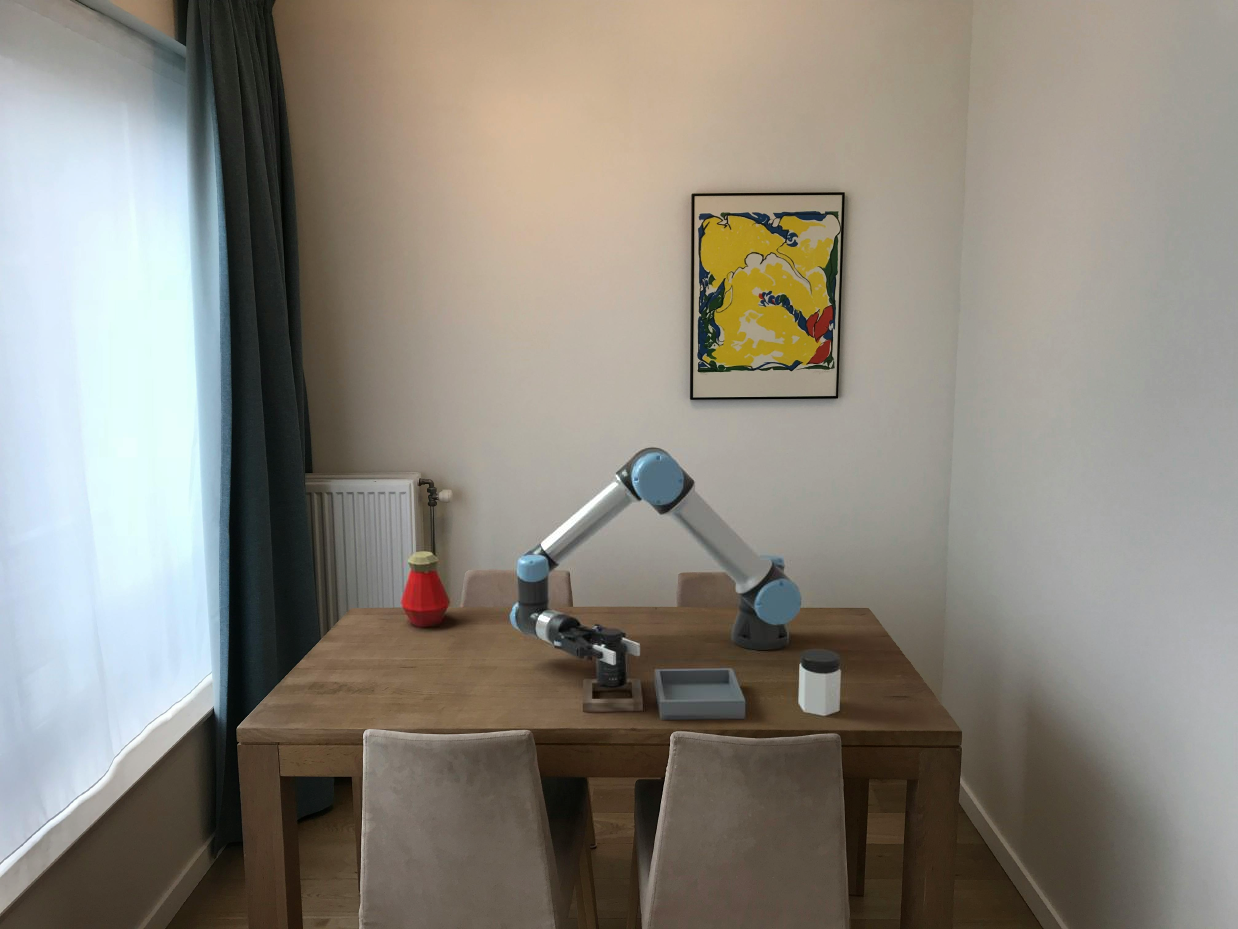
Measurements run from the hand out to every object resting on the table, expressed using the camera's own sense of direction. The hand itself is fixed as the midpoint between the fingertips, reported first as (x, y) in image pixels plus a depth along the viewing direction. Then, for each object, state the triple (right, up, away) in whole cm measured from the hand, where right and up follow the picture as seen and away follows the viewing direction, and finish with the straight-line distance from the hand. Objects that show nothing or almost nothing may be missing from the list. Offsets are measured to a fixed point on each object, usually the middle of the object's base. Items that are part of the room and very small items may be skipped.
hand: (626, 654), depth 188 cm
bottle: (-57, -4, +58) cm, 81 cm away
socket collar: (-3, -11, +5) cm, 13 cm away
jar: (+42, -12, +1) cm, 44 cm away
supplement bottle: (-3, -8, +5) cm, 10 cm away
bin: (+16, -11, +4) cm, 20 cm away
